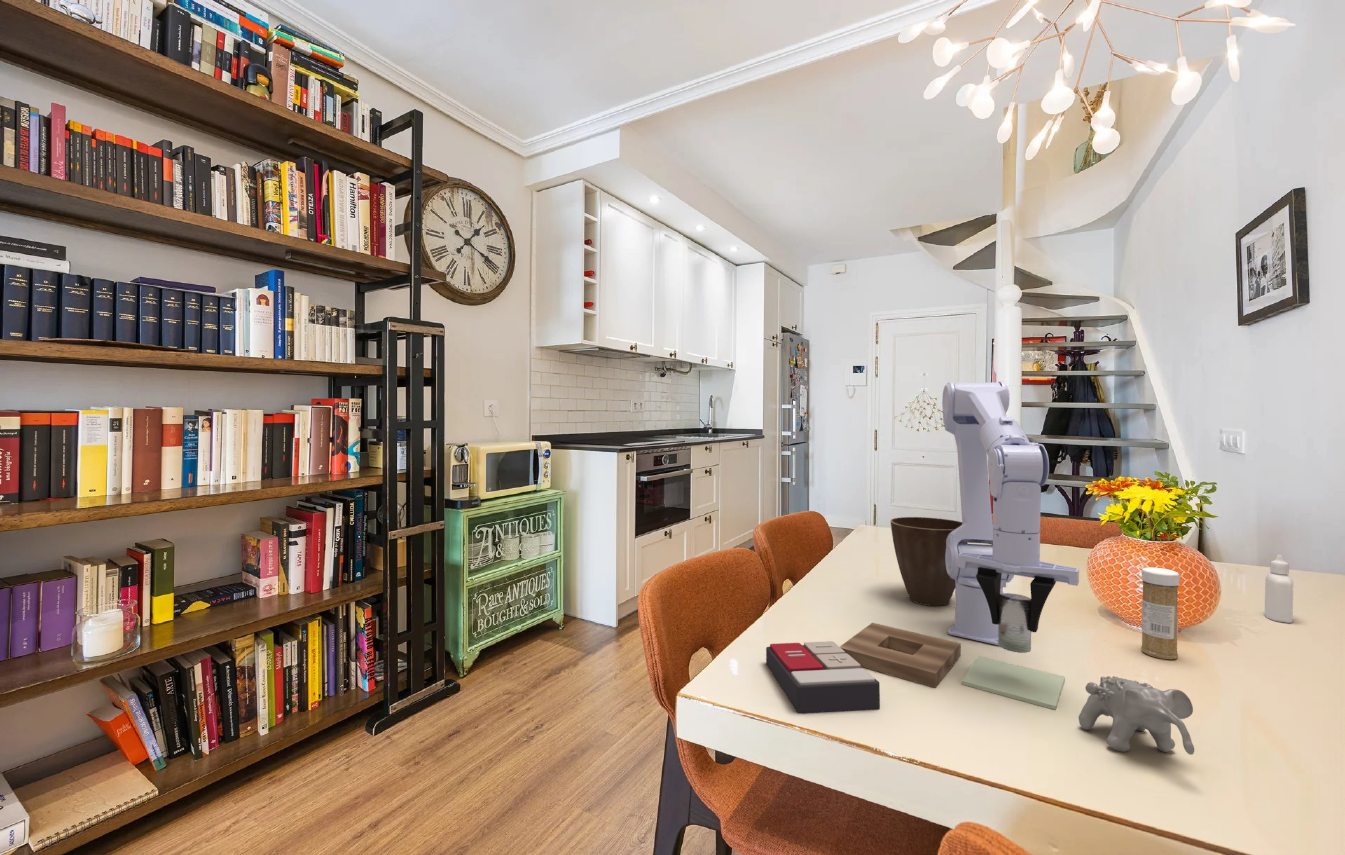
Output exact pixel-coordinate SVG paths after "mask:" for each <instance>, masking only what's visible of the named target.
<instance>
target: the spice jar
mask: <svg viewBox="0 0 1345 855" xmlns="http://www.w3.org/2000/svg"><path fill="white" fill-rule="evenodd" d="M1141 583H1142V600H1141V635H1142V636H1141V647H1140V650H1141V652H1143V653H1144V654H1146V655H1147V656H1151V657H1152V658H1153V657H1154V658H1156V659H1163V660H1176V659H1177V658H1178V656H1179V654H1178V638H1179V637H1178V636H1179V616H1178V615H1179V614H1178V608H1179V606H1178V605H1179V602H1178V601H1179V600H1178V598H1179V597H1178V596H1179V595H1178V593H1179V592H1178V591H1179V589H1178V588H1179V586H1180V574H1179V572H1177V571H1174V570H1171V569H1167V568H1162V567H1161V568H1160V567H1153V566H1151V567H1144V568H1142V569H1141Z"/></svg>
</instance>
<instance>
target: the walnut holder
mask: <svg viewBox="0 0 1345 855" xmlns="http://www.w3.org/2000/svg"><path fill="white" fill-rule="evenodd" d="M839 647H840V648H841V649H843V650H844V651H845V653H847V654H848V655H850V656H851V657H852V658H853V659H854V660H855V661H857V662H858V663H859V664H860V665H861V667H862V668H863V669H864V668H865V669H868V670H872V671H875V672H879V673H883V674H886V675H889V676H892V677H896V678H900V679H904V680H907V681H910V682H913V681H914V683H917V684H921V685H925V686H928V687H931V688H934V689H935V688H937V687H938V686H939V685H940V683H941V682H940V681H942V680H943V679H944V678H945V677H946V675H947V674H948V673H949V672H950V670H951V669H952V668H953V667H954V665H955V664H956V663H955V662H957V661H958V660H959V659H958V658H961V655H962V642H958V641H953V640H950V639H944V638H939V637H936V636H931V635H928V634H925V633H924V634H923V633H919V632H914V631H909V630H906V629H901V628H897V627H893V626H888V625H884V624H880V623H875V622H871V623H869V625H867V626H866V627H864V628H863V629H862V630H861V631H859V632H857V633H856V634H855V635H853V636H852V637H851V638H849V639H848V640H847V641H845V642H844V643H843V644H841V645H840V646H839ZM909 653H910V654H909ZM951 667H952V668H951Z"/></svg>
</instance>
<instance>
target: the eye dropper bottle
mask: <svg viewBox="0 0 1345 855" xmlns="http://www.w3.org/2000/svg"><path fill="white" fill-rule="evenodd" d="M1275 557H1276V558H1275V559H1274V560H1271V561H1269V564H1270V565H1269V568H1270V569H1269V573H1267V574H1266V575H1265V579H1264V584H1265V585H1264V616H1265V617H1266V618H1268V620H1272V621H1273V622H1277V623H1278V622H1279V623H1286V624H1292V622H1293V620H1294V618H1293V617H1294V581H1293V578H1291V576H1290V575H1289V574H1290V564H1289V563H1288V562H1286V561H1285V560H1284V556H1283V555H1282V554H1277V555H1276V556H1275Z"/></svg>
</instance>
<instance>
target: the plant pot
mask: <svg viewBox="0 0 1345 855" xmlns="http://www.w3.org/2000/svg"><path fill="white" fill-rule="evenodd" d="M961 525H962V521H959V520H953V519H945V518H937V517H925V516H924V517H923V516H922V517H921V516H904V517H902V516H901V517H894V518H891V519H890V528H891V536H892V542H893V547H894V548H893V549H894V552H895V556H896V562H897V566H898V570H899V572H900V576H901V579H902V582H903V584H904V587H905V590H906V593H907V596H908V598H909V599H910V601H911V602H914V603H916V604H920V605H924V606H932V607H939V606H940V607H941V606H947V605H948V604H950V601H951V599H952V597H953V595H954V593H955V579H952V578H951V577H950V576H949V575H948V573H947V570H946V562H945V554H946V539H947V537H948V535H949V534H950V533H951V532H952V531H954V530H955V529H957V528H958V527H960V526H961ZM959 543H964V544H969V543H965V542H959Z"/></svg>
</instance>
